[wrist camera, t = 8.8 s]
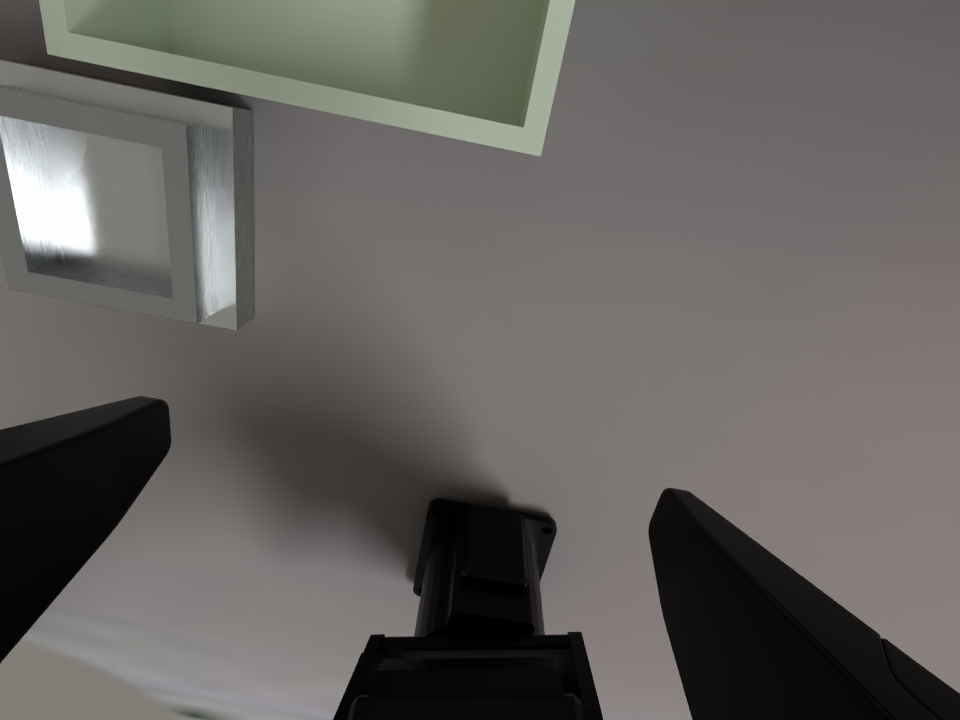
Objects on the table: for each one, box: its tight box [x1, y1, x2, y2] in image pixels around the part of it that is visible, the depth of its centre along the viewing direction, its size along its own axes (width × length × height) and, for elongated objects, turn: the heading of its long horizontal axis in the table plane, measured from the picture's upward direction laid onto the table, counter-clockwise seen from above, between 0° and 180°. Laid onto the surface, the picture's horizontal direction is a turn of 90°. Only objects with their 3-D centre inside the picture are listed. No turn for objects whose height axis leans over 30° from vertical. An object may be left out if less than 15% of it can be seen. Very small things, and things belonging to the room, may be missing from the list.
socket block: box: [0, 59, 254, 330], centre depth 18 cm, size 8×8×3 cm
